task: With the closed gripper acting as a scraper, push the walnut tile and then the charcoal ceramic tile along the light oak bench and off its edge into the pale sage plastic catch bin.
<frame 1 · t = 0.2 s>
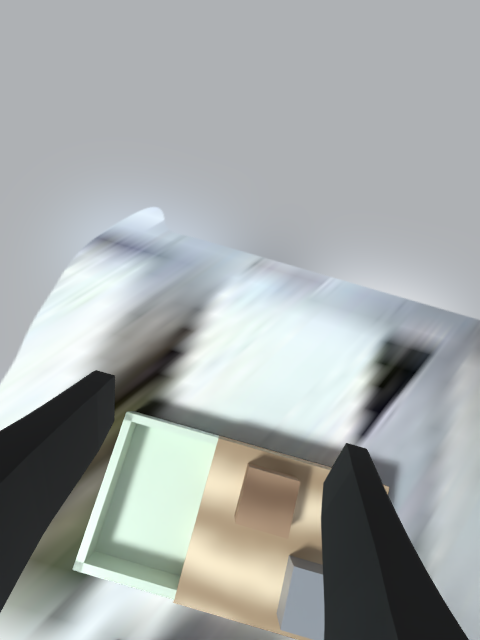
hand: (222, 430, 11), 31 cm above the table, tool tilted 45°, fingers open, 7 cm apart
catch bin: (155, 492, 39), on the table
walnut tile: (265, 495, 36), point 4 cm above the table, touching oak bench
oak bench: (280, 528, 38), on the table
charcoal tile: (308, 591, 34), point 4 cm above the table, touching oak bench
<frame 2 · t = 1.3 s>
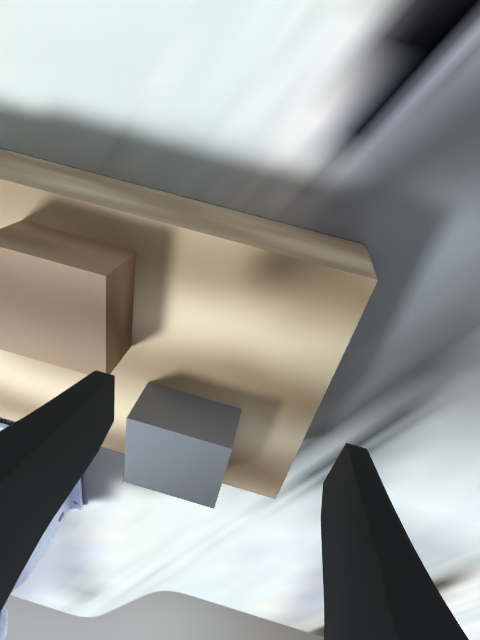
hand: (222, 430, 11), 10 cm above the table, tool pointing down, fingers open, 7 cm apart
walnut tile: (80, 288, 16), point 4 cm above the table, touching oak bench
oak bench: (167, 323, 21), on the table
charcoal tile: (188, 427, 20), point 4 cm above the table, touching oak bench
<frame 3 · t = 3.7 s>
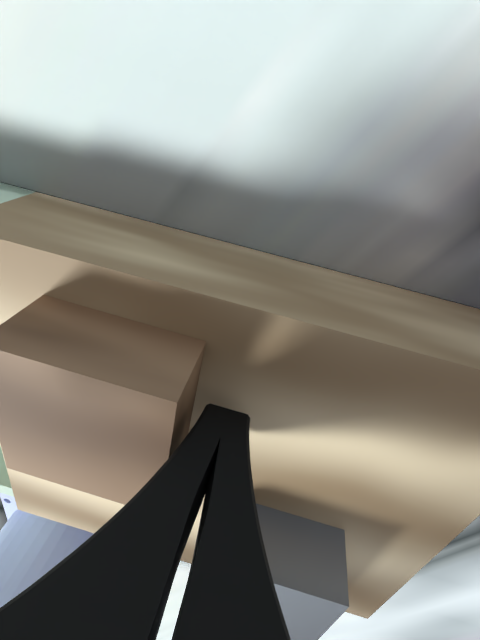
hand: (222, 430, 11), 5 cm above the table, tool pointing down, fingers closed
walnut tile: (121, 379, 12), point 4 cm above the table, touching gripper, oak bench
oak bench: (232, 399, 17), on the table
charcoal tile: (266, 541, 15), point 4 cm above the table, touching oak bench
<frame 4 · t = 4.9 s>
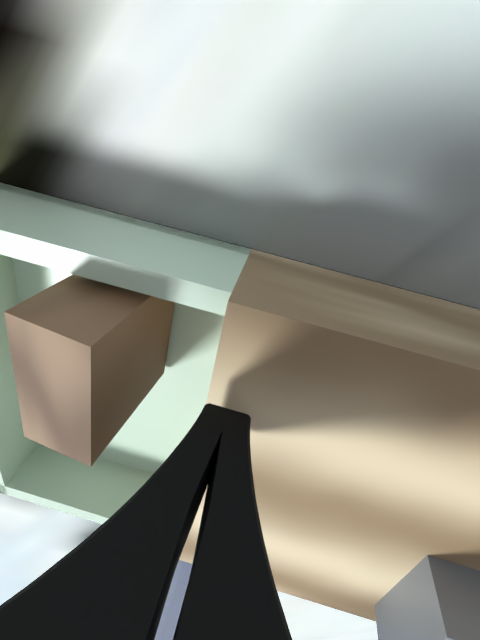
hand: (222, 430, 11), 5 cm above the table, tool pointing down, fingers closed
catch bin: (117, 366, 17), on the table
walnut tile: (137, 363, 12), point 3 cm above the table, tilted 96°, touching catch bin
oak bench: (404, 449, 16), on the table
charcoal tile: (457, 600, 15), point 4 cm above the table, touching oak bench
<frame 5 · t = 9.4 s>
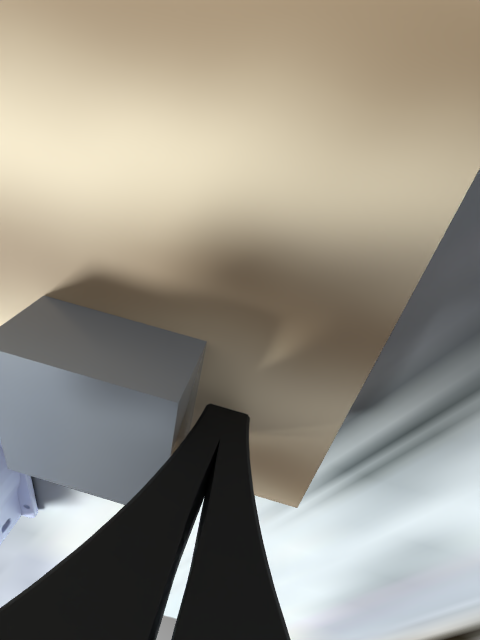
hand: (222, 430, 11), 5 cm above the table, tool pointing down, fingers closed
oak bench: (125, 228, 13), on the table
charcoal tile: (122, 380, 12), point 4 cm above the table, touching gripper, oak bench
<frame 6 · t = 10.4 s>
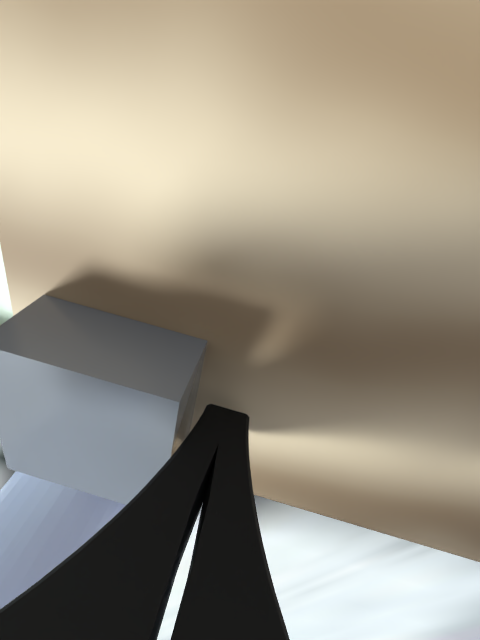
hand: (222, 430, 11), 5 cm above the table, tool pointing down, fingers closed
oak bench: (315, 278, 13), on the table
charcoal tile: (122, 379, 12), point 4 cm above the table, touching gripper
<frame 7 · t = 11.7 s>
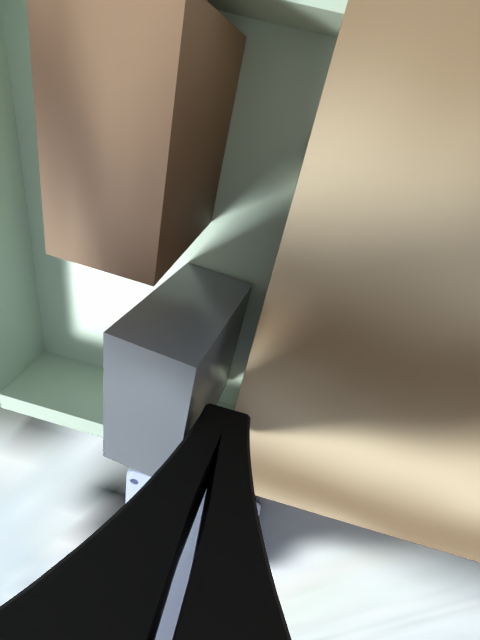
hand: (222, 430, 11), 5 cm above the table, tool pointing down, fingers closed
catch bin: (143, 233, 13), on the table
walnut tile: (204, 150, 8), point 3 cm above the table, tilted 90°, touching catch bin
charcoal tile: (215, 379, 12), point 3 cm above the table, tilted 97°, touching catch bin
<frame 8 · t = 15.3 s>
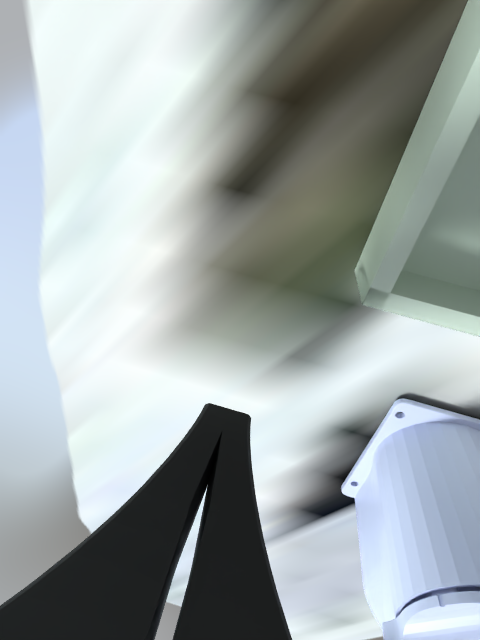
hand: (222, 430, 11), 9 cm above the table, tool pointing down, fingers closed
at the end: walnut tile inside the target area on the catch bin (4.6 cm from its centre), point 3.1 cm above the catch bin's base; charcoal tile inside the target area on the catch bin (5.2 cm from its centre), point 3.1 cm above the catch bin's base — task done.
